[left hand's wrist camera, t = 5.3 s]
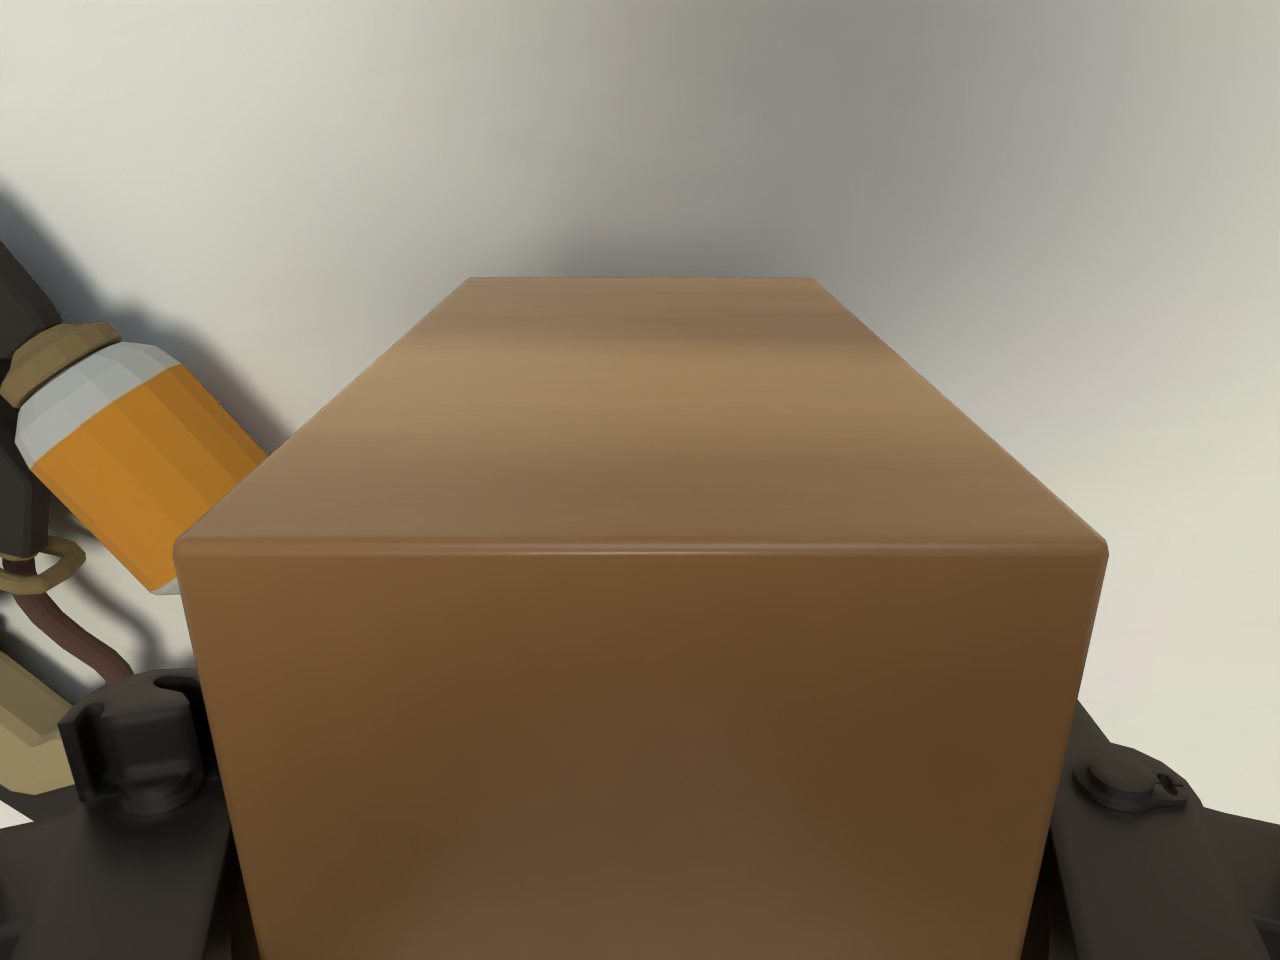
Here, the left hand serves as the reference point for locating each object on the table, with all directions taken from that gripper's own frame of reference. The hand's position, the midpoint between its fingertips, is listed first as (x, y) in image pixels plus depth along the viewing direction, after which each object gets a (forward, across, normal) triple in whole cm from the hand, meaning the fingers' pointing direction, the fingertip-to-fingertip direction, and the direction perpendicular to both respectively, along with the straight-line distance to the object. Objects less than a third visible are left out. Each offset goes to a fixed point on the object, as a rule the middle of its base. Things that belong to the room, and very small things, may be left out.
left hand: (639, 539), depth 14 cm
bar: (+1, 0, -8) cm, 8 cm away
